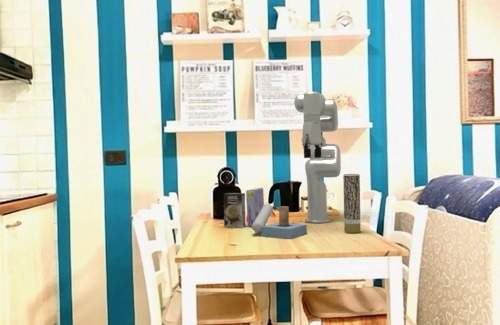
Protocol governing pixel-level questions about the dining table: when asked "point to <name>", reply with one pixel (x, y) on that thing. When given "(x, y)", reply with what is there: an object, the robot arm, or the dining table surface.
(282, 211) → the peg
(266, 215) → the tube
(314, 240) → the dining table surface
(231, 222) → the coffee box
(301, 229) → the socket
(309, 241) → the dining table surface
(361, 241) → the dining table surface
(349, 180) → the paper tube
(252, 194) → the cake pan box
